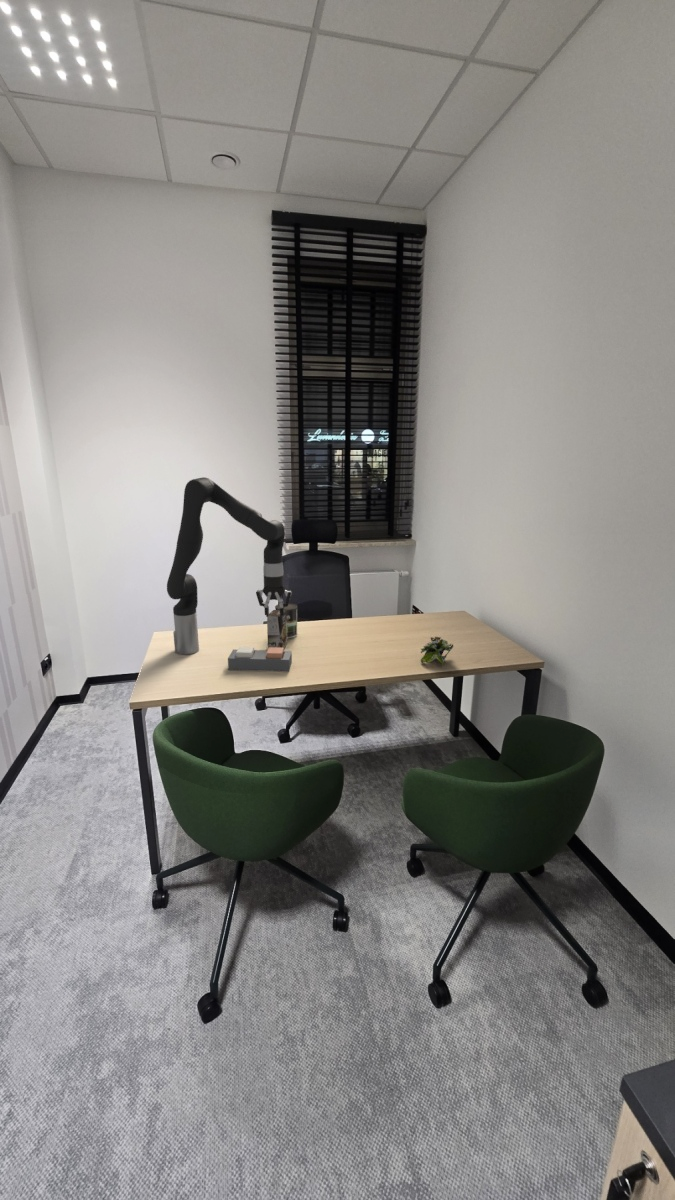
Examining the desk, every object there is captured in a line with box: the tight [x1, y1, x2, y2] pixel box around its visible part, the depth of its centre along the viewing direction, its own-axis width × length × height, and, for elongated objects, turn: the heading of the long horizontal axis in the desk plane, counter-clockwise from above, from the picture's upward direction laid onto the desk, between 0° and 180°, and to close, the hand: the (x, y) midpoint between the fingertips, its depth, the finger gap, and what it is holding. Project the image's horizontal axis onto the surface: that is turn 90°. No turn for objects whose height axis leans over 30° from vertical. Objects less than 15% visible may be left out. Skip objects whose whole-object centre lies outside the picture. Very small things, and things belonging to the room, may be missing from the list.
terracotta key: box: [267, 647, 285, 659], centre depth 192 cm, size 6×6×3 cm
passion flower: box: [420, 636, 454, 666], centre depth 199 cm, size 13×12×14 cm
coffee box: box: [266, 609, 288, 649], centre depth 211 cm, size 9×6×16 cm
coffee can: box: [274, 602, 298, 639], centre depth 226 cm, size 10×10×14 cm
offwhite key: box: [236, 646, 255, 658], centre depth 192 cm, size 6×6×3 cm
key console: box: [227, 649, 293, 672], centre depth 193 cm, size 24×9×5 cm, turn 89°
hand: (274, 616), depth 188 cm, fingers open, 4 cm apart
